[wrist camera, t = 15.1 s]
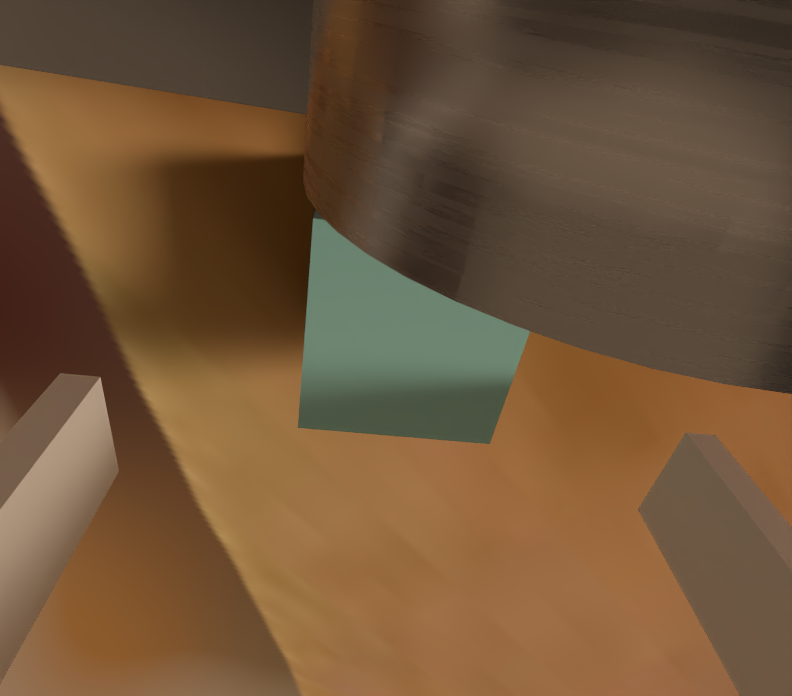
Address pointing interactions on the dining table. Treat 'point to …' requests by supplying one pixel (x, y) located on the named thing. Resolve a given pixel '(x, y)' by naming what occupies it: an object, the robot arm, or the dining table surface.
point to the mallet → (397, 352)
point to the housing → (511, 149)
